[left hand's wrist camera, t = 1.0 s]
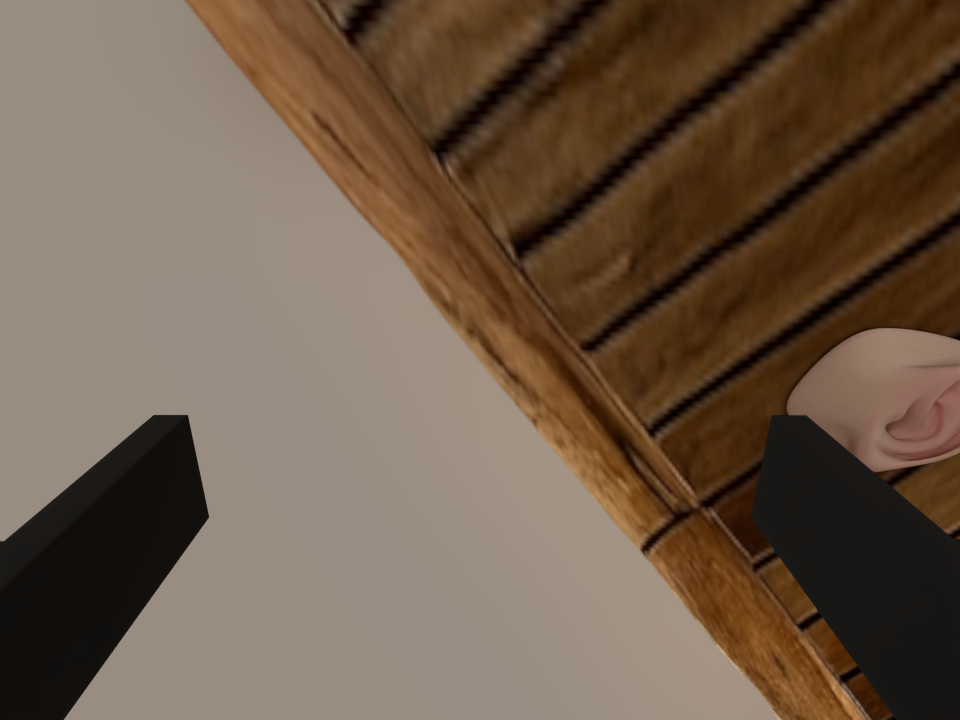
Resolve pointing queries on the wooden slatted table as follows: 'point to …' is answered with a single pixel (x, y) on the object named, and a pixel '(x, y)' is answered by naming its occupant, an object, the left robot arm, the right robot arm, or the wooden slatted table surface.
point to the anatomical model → (887, 397)
